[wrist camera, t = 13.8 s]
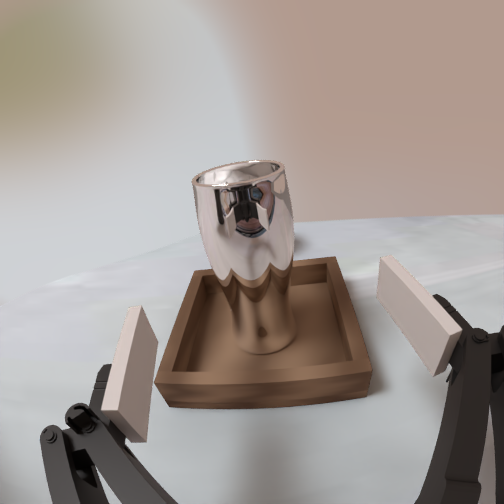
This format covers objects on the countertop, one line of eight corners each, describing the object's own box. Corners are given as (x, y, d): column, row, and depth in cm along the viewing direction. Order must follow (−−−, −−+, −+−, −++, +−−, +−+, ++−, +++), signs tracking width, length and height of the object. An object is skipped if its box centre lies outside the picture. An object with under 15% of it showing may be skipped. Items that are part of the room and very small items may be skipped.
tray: (169, 406, 22) (153, 382, 20) (201, 294, 36) (194, 270, 34) (366, 396, 20) (372, 370, 19) (335, 282, 34) (335, 256, 32)
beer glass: (269, 298, 32) (248, 156, 25) (317, 329, 27) (308, 164, 20) (214, 330, 29) (173, 179, 21) (257, 371, 23) (220, 193, 16)
